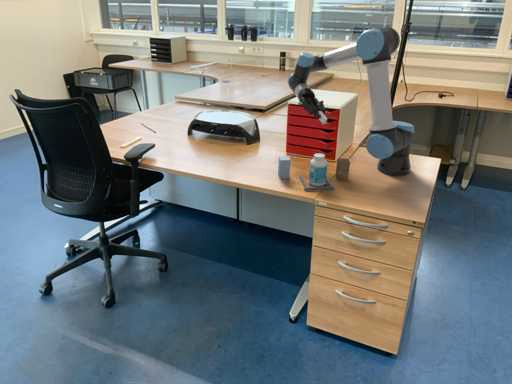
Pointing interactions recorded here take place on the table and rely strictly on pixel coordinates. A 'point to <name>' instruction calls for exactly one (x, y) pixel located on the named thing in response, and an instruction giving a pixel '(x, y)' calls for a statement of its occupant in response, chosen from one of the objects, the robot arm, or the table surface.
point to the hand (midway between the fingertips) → (324, 121)
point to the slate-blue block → (284, 167)
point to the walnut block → (342, 169)
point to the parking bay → (317, 187)
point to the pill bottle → (318, 170)
